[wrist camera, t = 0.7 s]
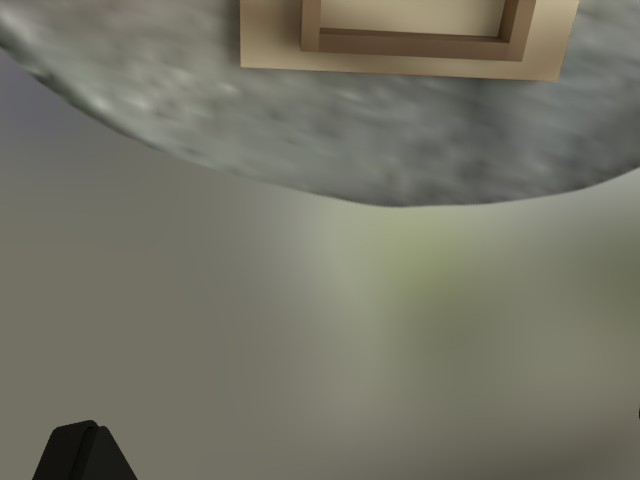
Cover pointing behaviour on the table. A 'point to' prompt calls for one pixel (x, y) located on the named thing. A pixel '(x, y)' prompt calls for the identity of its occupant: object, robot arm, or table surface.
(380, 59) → the board
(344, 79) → the table surface
